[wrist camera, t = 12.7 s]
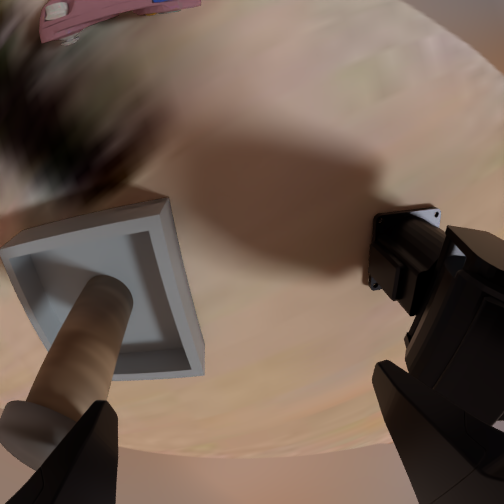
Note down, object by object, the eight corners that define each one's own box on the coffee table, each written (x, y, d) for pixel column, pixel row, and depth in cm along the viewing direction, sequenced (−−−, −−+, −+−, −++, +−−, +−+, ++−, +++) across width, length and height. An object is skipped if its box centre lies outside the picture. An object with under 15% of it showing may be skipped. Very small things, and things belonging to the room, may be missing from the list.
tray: (168, 197, 19) (159, 214, 15) (204, 344, 24) (204, 375, 21) (22, 230, 18) (-2, 250, 15) (77, 353, 23) (66, 380, 20)
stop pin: (152, 280, 20) (112, 463, 8) (135, 336, 22) (107, 496, 10) (79, 254, 18) (-18, 407, 6) (71, 314, 20) (9, 459, 8)
